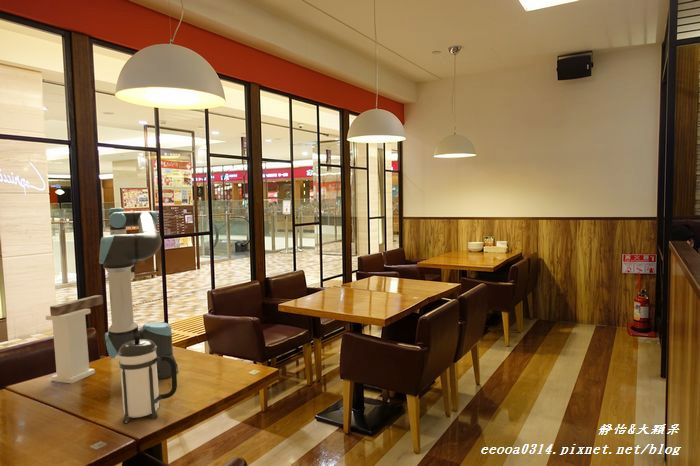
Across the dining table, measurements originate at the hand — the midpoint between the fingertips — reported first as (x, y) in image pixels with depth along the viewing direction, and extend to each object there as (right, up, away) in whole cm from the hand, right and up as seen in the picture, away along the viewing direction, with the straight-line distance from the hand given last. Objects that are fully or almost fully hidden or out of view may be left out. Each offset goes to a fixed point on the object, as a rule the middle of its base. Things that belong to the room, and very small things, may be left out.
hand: (121, 278), depth 239 cm
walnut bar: (-6, -11, -28) cm, 31 cm away
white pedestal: (-6, -42, -31) cm, 52 cm away
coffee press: (+44, -43, -70) cm, 93 cm away
